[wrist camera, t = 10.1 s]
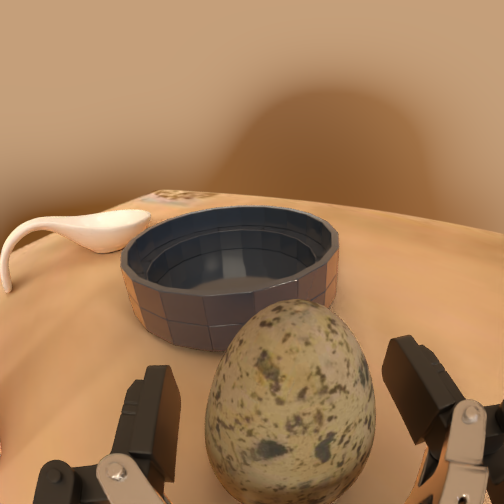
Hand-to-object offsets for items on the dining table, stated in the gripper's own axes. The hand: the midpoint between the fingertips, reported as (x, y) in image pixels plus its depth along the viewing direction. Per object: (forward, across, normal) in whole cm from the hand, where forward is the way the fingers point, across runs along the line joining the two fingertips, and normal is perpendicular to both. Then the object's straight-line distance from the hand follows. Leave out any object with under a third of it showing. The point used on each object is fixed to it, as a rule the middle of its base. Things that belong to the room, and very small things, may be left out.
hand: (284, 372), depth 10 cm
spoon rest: (+26, +23, +6) cm, 35 cm away
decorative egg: (-2, 0, +6) cm, 6 cm away
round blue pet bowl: (+16, +2, +6) cm, 17 cm away
